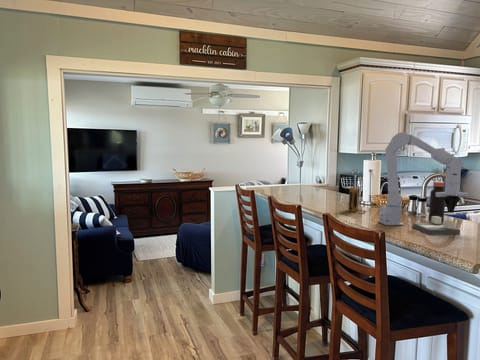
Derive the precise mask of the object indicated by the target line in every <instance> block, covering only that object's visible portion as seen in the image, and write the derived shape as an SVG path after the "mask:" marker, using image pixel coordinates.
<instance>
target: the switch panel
mask: <svg viewBox="0 0 480 360" xmlns="http://www.w3.org/2000/svg"><path fill="white" fill-rule="evenodd" d="M443 224H444V222H441V224H434V223H431V222H413V223H412V228H414V229H416V230H418V231H420V232H423V233H425V234H427V235H460V234H461V229H459V228H456V227H454V229H447V228H445V227H443Z"/></svg>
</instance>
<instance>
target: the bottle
mask: <svg viewBox="0 0 480 360" xmlns="http://www.w3.org/2000/svg"><path fill="white" fill-rule="evenodd" d="M445 184H446V181H433V183H432V186H433V189H432V190H431V191H430V195H429V196H430V197H429V208H428V221H429V222H431V217H432V216H439V217H442V220H441V223H444V220H445V209H446V203H445V201H444V199H443V197H436V192H445V189H444V188H445Z"/></svg>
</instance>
